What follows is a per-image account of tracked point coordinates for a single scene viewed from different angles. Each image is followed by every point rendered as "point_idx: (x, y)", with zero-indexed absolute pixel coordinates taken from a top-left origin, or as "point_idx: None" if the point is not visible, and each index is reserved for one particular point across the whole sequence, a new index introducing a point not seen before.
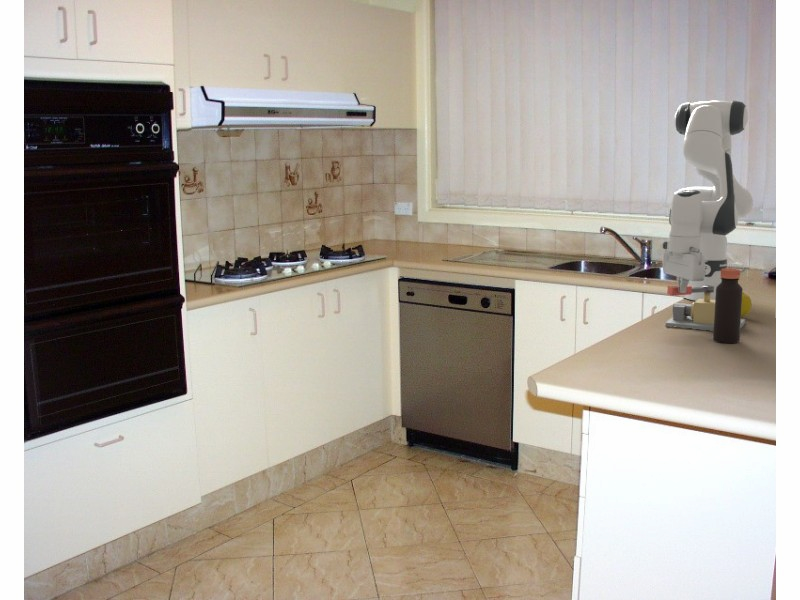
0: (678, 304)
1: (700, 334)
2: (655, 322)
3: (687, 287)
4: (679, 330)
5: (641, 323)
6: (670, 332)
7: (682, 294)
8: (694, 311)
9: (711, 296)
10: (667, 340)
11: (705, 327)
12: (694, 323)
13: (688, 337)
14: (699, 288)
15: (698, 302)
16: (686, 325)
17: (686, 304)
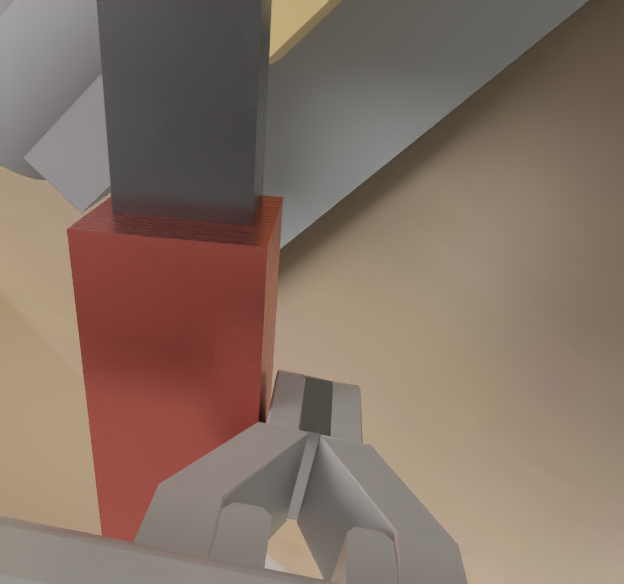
0: (26, 121)
1: (567, 216)
2: (64, 261)
3: (263, 333)
4: (378, 271)
5: (77, 367)
6: (403, 364)
7: (272, 351)
8: (275, 59)
9: None
10: (569, 497)
11: (486, 77)
12: (338, 91)
13: (586, 352)
14: (261, 3)
15: (277, 9)
16: (350, 192)
17: (70, 39)
